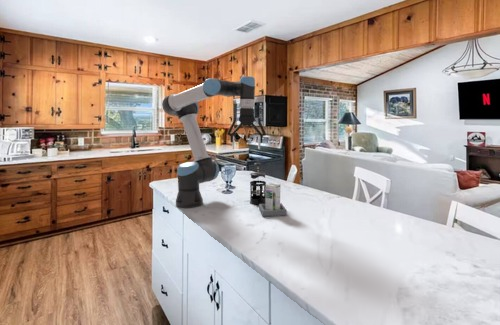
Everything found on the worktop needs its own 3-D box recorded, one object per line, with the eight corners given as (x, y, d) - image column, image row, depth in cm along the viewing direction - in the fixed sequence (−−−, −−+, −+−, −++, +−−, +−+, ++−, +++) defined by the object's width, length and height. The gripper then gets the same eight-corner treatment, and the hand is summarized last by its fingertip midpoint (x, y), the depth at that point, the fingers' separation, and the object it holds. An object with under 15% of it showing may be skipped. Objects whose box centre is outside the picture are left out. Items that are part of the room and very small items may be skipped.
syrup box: (264, 211, 146) (264, 184, 144) (271, 209, 151) (271, 182, 149) (274, 214, 143) (274, 185, 141) (280, 211, 147) (280, 183, 145)
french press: (269, 204, 161) (269, 164, 158) (254, 206, 158) (254, 165, 155) (261, 198, 172) (260, 161, 169) (246, 200, 169) (246, 162, 165)
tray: (262, 216, 140) (262, 211, 140) (259, 209, 152) (259, 203, 152) (286, 215, 142) (286, 210, 141) (281, 208, 153) (281, 203, 153)
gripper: (222, 107, 142) (222, 149, 146) (272, 108, 145) (270, 149, 148) (222, 107, 149) (222, 147, 153) (269, 108, 152) (268, 148, 156)
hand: (246, 148), depth 151 cm, fingers open, 13 cm apart
